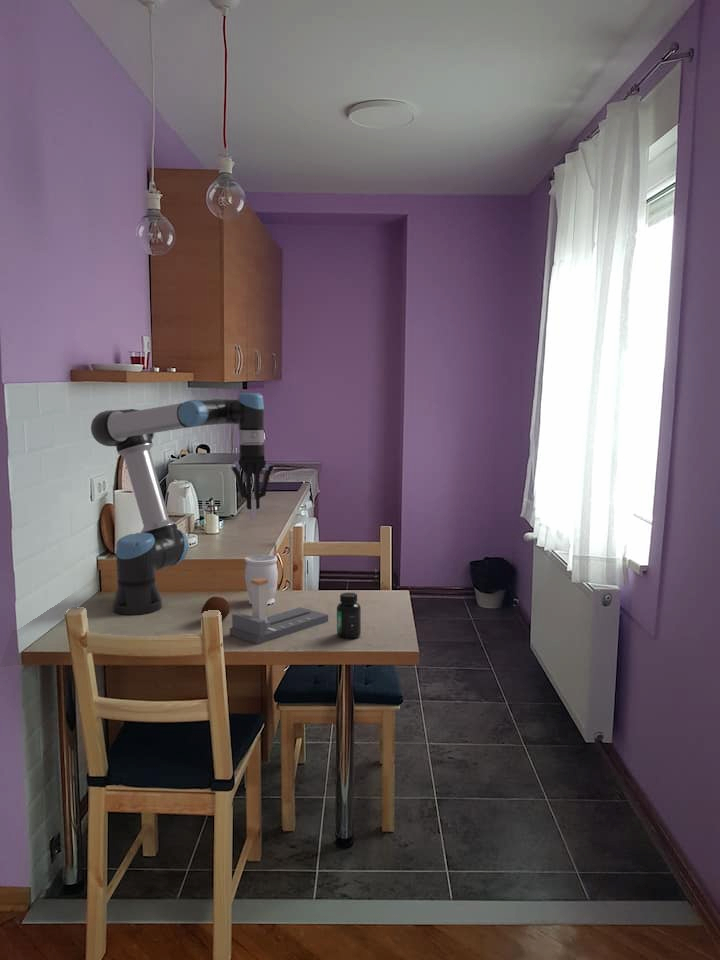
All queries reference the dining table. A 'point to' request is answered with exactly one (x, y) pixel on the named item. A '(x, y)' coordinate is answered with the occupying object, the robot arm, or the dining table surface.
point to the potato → (217, 606)
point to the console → (274, 624)
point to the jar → (262, 574)
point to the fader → (260, 599)
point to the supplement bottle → (348, 617)
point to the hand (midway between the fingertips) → (253, 519)
